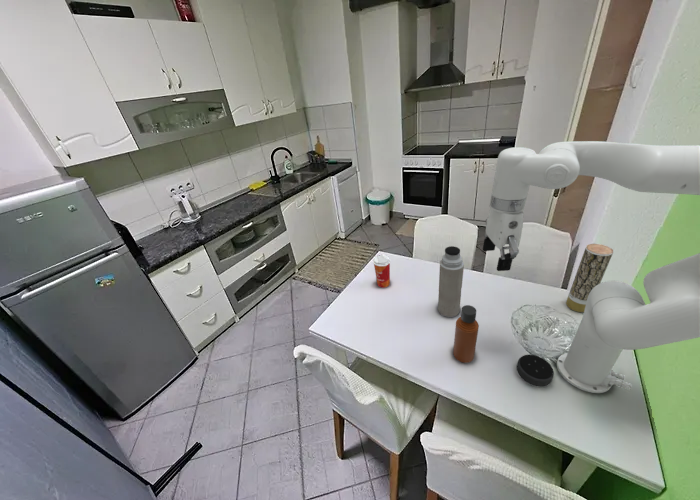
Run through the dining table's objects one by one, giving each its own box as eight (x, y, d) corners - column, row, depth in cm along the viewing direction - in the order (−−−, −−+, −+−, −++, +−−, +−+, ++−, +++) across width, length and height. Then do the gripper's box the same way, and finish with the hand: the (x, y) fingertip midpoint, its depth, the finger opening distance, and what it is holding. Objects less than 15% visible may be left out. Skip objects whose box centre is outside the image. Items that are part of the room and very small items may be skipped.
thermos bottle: (458, 303, 111) (463, 243, 97) (460, 317, 104) (467, 255, 90) (437, 302, 113) (439, 243, 98) (438, 316, 106) (441, 255, 92)
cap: (477, 316, 82) (478, 308, 81) (472, 325, 80) (473, 316, 78) (463, 311, 85) (464, 303, 83) (458, 319, 82) (459, 311, 81)
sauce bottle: (476, 352, 91) (483, 308, 81) (470, 366, 87) (476, 322, 77) (457, 343, 95) (461, 300, 85) (450, 356, 91) (453, 313, 81)
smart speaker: (548, 366, 84) (551, 357, 82) (553, 392, 77) (557, 384, 75) (515, 358, 87) (517, 350, 85) (517, 383, 80) (519, 374, 78)
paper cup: (372, 281, 130) (370, 256, 123) (387, 277, 132) (385, 252, 124) (379, 291, 123) (376, 265, 116) (394, 286, 125) (393, 260, 118)
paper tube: (570, 312, 100) (592, 254, 87) (562, 299, 105) (582, 243, 92) (592, 313, 98) (618, 254, 85) (583, 300, 103) (606, 243, 91)
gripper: (543, 215, 60) (525, 278, 69) (507, 188, 74) (496, 242, 83) (507, 218, 60) (494, 280, 69) (478, 190, 75) (470, 244, 84)
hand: (495, 259), depth 76 cm, fingers open, 9 cm apart
